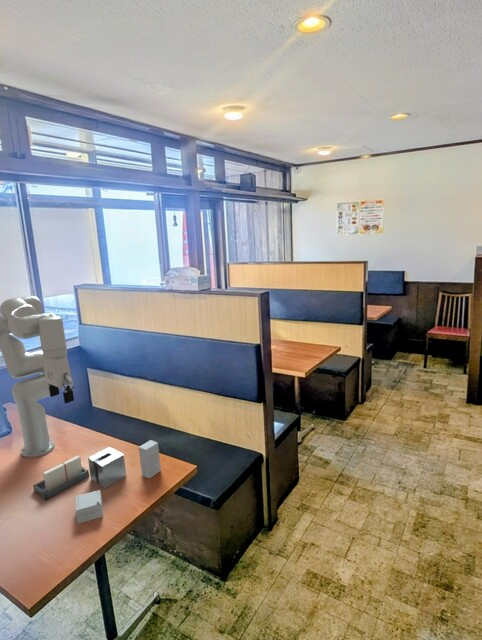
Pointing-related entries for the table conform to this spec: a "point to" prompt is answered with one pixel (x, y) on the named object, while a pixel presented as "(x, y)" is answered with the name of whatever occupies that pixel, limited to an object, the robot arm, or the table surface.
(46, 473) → the ticket
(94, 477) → the ticket dispenser
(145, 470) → the skincare box
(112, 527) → the table surface
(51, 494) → the stub tray
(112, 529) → the table surface
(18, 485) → the table surface
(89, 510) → the small box
